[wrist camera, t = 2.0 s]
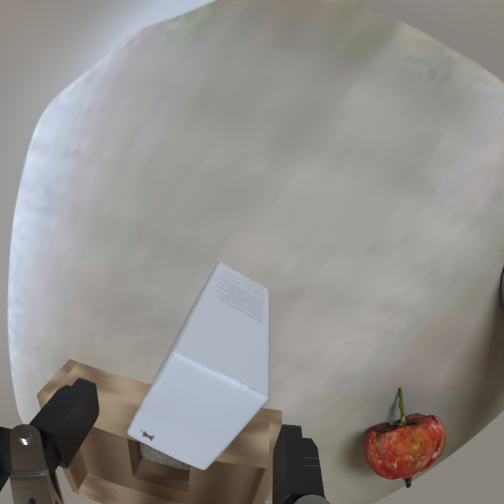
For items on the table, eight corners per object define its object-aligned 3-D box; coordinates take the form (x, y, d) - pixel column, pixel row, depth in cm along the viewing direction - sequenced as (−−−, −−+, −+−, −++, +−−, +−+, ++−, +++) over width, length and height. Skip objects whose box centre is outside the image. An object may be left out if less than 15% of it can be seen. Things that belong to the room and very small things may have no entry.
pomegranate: (350, 392, 27) (349, 487, 23) (384, 392, 20) (381, 511, 16) (416, 383, 28) (415, 472, 24) (459, 378, 21) (456, 485, 17)
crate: (281, 410, 25) (282, 462, 19) (250, 498, 29) (247, 538, 24) (70, 359, 26) (36, 394, 20) (91, 458, 30) (72, 491, 24)
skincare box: (231, 350, 24) (203, 474, 12) (182, 324, 24) (122, 435, 12) (273, 288, 23) (272, 401, 11) (219, 257, 22) (167, 348, 11)
